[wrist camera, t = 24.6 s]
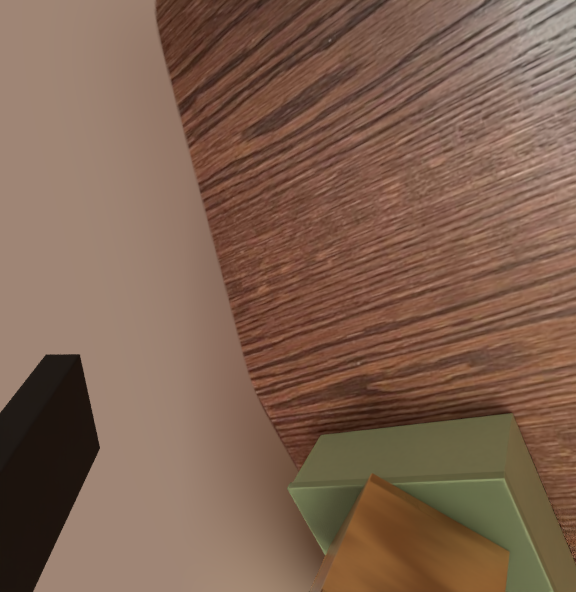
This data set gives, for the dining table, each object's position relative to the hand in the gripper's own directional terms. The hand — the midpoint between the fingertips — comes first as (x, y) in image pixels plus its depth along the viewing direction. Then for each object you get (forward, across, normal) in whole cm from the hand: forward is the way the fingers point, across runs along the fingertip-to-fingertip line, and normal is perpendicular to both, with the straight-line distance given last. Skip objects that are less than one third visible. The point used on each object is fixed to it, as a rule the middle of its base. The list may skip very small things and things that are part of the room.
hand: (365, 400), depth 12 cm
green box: (+18, +10, -24) cm, 32 cm away
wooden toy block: (+13, +6, -22) cm, 27 cm away
